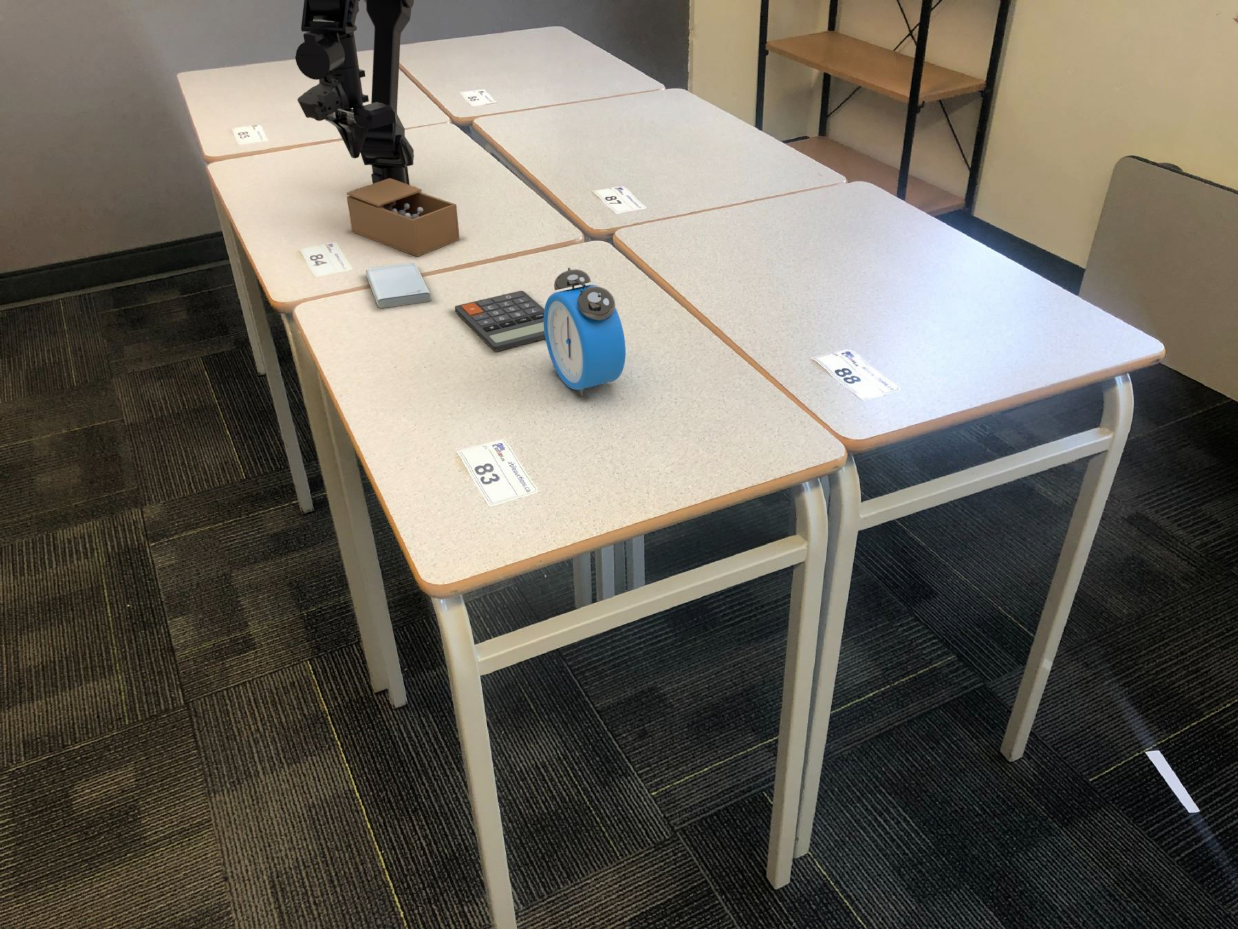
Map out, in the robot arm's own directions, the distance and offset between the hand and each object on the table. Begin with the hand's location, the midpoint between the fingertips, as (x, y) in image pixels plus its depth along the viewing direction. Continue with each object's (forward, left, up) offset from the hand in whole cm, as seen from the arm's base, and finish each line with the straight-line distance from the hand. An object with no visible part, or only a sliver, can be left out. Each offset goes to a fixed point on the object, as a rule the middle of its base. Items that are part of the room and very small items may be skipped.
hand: (355, 157), depth 169 cm
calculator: (+12, +49, -12) cm, 52 cm away
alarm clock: (+18, +69, -12) cm, 72 cm away
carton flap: (0, +6, -5) cm, 8 cm away
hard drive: (+15, +27, -12) cm, 33 cm away
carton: (0, +11, -12) cm, 16 cm away
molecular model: (-1, +11, -12) cm, 16 cm away
